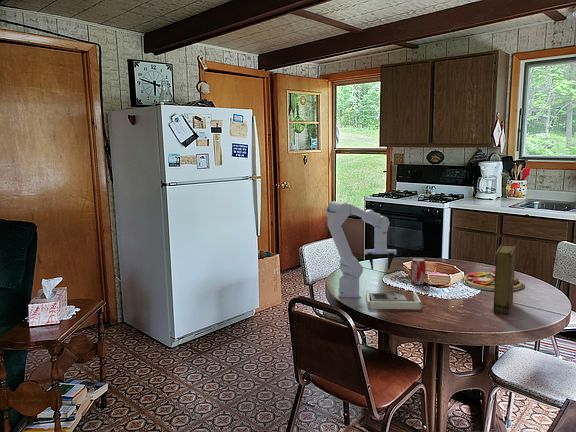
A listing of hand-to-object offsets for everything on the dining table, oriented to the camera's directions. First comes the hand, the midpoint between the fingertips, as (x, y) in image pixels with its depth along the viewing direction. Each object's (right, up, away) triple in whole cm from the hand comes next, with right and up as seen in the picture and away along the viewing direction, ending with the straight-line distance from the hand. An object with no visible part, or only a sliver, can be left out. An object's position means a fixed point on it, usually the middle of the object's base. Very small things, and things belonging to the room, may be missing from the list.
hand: (380, 269), depth 208 cm
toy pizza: (+55, -8, +5) cm, 56 cm away
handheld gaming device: (-1, -13, -19) cm, 23 cm away
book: (+44, -13, -28) cm, 54 cm away
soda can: (+20, -8, +7) cm, 23 cm away
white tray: (+1, -13, -19) cm, 23 cm away
